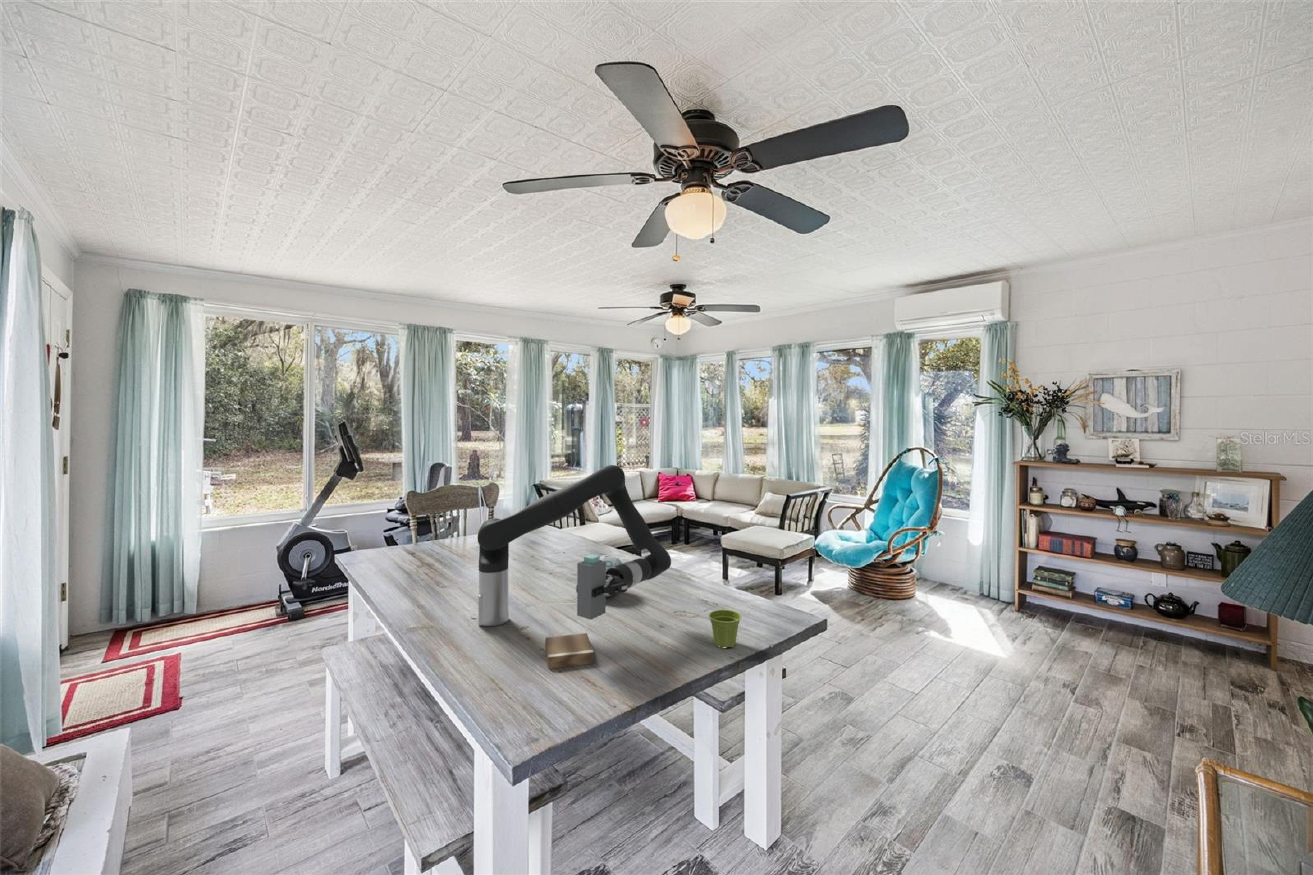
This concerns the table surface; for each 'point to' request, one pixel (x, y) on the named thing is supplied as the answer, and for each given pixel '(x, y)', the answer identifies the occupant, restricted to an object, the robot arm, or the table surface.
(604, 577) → the carrier
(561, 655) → the block
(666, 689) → the table surface
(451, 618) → the table surface
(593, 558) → the block
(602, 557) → the puzzle ball
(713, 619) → the plant pot
